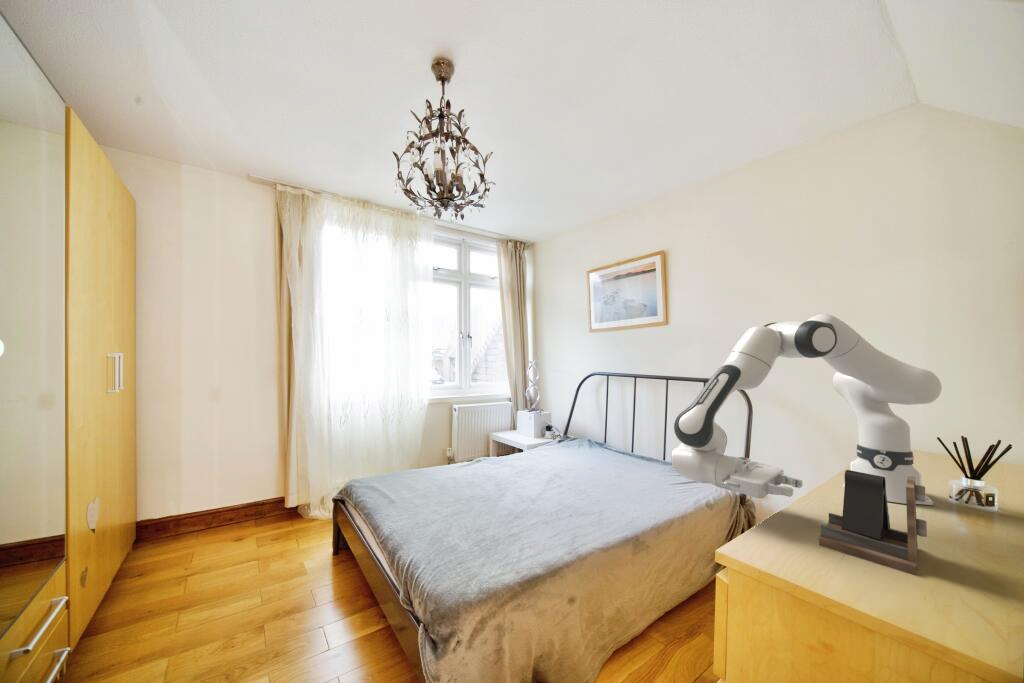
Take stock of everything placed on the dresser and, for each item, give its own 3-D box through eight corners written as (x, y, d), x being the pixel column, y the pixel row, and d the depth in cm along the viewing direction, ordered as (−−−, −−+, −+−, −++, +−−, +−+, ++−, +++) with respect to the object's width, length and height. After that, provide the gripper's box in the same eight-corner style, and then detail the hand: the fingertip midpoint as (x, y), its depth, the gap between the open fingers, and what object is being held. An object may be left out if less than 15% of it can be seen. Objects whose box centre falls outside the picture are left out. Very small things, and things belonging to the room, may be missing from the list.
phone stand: (880, 541, 73) (878, 481, 73) (841, 529, 78) (839, 473, 78) (890, 530, 78) (889, 474, 79) (853, 520, 83) (852, 466, 83)
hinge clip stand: (831, 525, 88) (829, 460, 89) (927, 551, 76) (924, 476, 77) (819, 545, 78) (817, 472, 79) (927, 578, 66) (924, 492, 67)
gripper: (718, 468, 91) (786, 483, 80) (745, 456, 104) (806, 467, 94) (718, 494, 91) (786, 512, 80) (745, 478, 104) (806, 492, 93)
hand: (797, 488), depth 87 cm, fingers open, 8 cm apart
